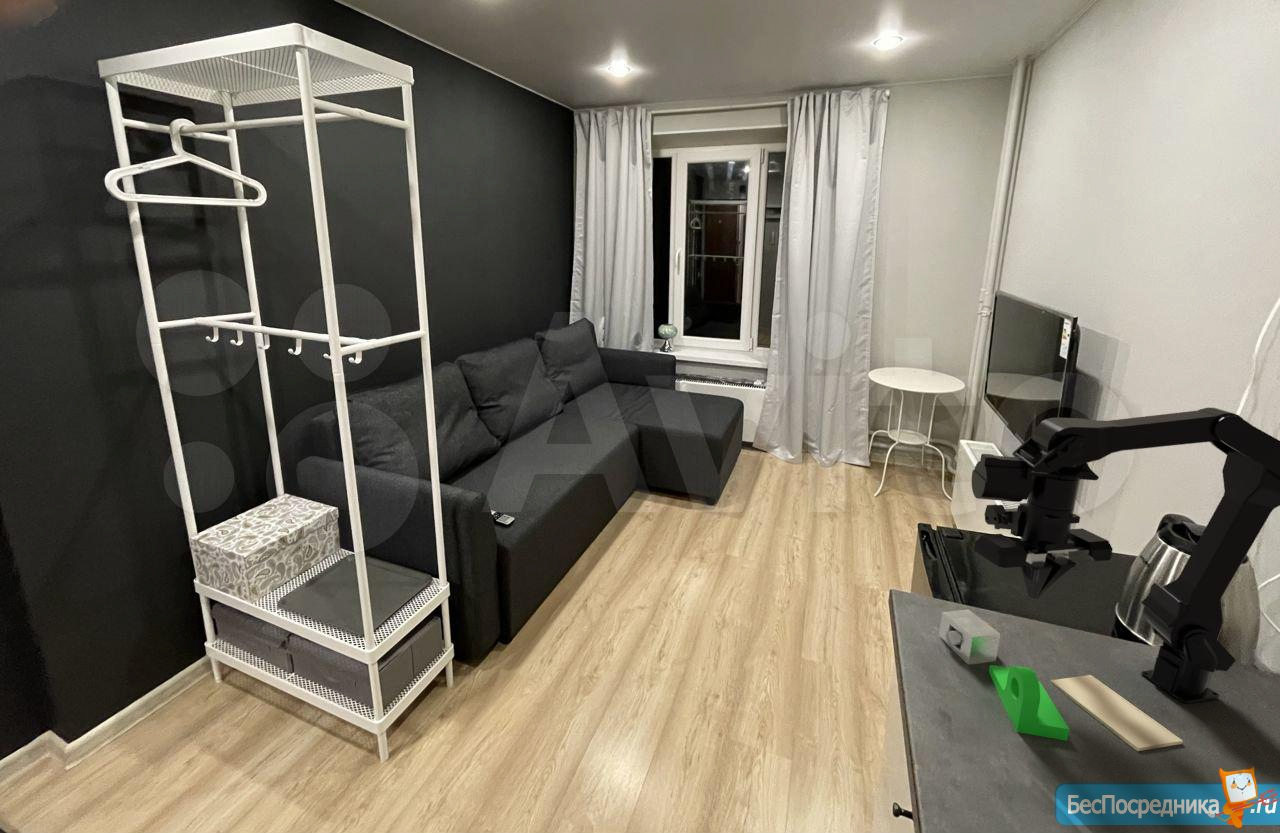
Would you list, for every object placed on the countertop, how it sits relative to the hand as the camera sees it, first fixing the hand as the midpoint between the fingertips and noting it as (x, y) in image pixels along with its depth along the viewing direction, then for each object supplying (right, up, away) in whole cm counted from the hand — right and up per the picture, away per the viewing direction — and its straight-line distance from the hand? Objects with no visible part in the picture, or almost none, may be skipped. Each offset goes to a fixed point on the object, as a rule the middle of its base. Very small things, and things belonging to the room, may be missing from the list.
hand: (1032, 597), depth 89 cm
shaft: (-7, -10, +6) cm, 13 cm away
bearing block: (-7, -11, +6) cm, 14 cm away
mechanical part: (-5, -14, -6) cm, 16 cm away
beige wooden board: (+7, -14, -7) cm, 17 cm away
